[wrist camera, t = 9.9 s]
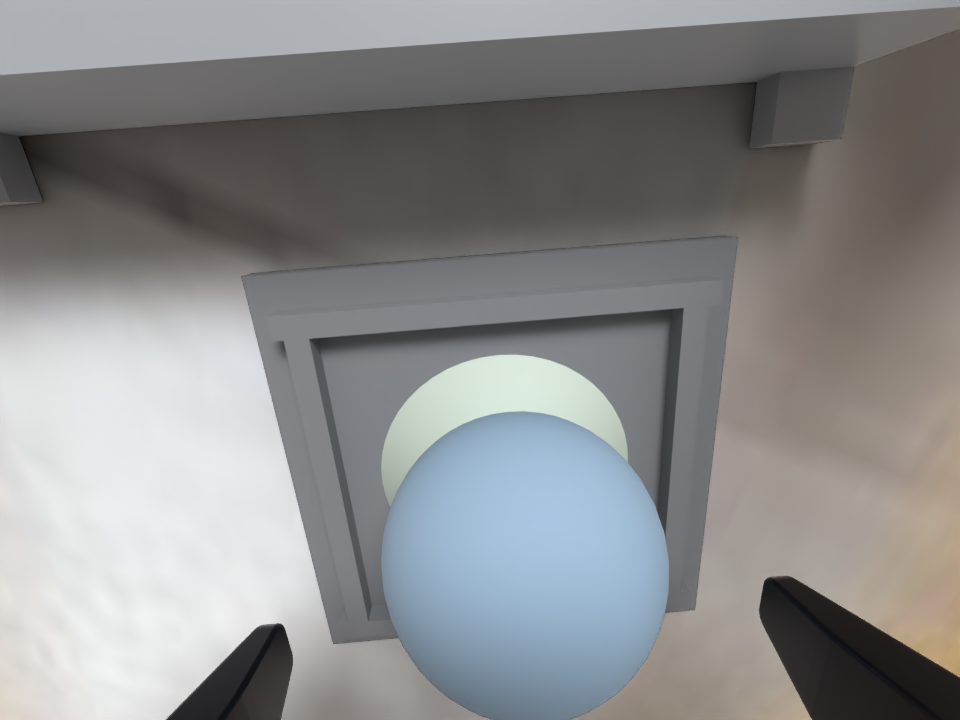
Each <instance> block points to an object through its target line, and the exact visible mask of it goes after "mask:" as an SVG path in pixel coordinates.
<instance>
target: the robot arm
mask: <svg viewBox="0 0 960 720" xmlns="http://www.w3.org/2000/svg"><path fill="white" fill-rule="evenodd" d="M759 613H760V619H761V621H762V624H763V626H764V628H765V630H766V632H767V634H768V636H769V638H770V640H771V642H772V644H773V646H774V648H775V649H776V651H777V653H778V655H779V657H780V659H781V661H782V663H783V665H784V667H785V669H786V671H787V673H788V675H789V677H790V679H791V681H792V682H793V684H794V686H795V688H796V690H797V692H798V694H799V696H800V698H801V700H802V702H803V704H804V705H805V707H806V709H807V711H808V713H809V715H810V717H811V718H812V720H960V677H958V676H956V675H955V674H953V673H951V672H950V671H948V670H946V669H945V668H943V667H941V666H940V665H938V664H936V663H935V662H933V661H931V660H930V659H928V658H926V657H925V656H923V655H921V654H920V653H918V652H916V651H915V650H913V649H911V648H910V647H908V646H906V645H905V644H903V643H901V642H900V641H898V640H896V639H895V638H893V637H891V636H890V635H888V634H886V633H885V632H883V631H881V630H880V629H878V628H876V627H875V626H873V625H871V624H870V623H868V622H866V621H865V620H863V619H861V618H860V617H858V616H856V615H855V614H853V613H851V612H850V611H848V610H846V609H845V608H843V607H841V606H840V605H838V604H836V603H835V602H833V601H831V600H830V599H828V598H826V597H825V596H823V595H821V594H820V593H818V592H816V591H815V590H813V589H811V588H810V587H808V586H806V585H805V584H803V583H801V582H800V581H798V580H796V579H794V578H792V577H790V576H777V577H769V578H767V579H766V580H765V581H764V585H763V591H762V596H761V602H760V607H759ZM292 666H293V655H292V651H291V648H290V644H289V641H288V638H287V634H286V631H285V628H284V626H283V625H282V624H279V623H277V624H267V625H261V626H259V627H257V628H256V629H255V630H254V631H253V632H252V633H251V634H250V635H249V636H248V637H247V638H246V639H245V640H244V641H243V642H242V643H241V644H240V645H239V646H238V647H237V648H236V649H235V650H234V651H233V652H232V653H231V654H230V655H229V656H228V657H227V658H226V659H225V660H224V661H223V662H222V663H221V664H220V665H219V666H218V667H217V668H216V669H215V670H214V671H213V672H212V673H211V674H210V675H209V676H208V677H207V678H206V679H205V680H204V681H203V682H202V683H201V684H200V685H199V686H198V687H197V688H196V690H195V691H194V692H193V693H192V694H191V695H190V696H189V697H188V698H187V699H186V700H185V701H184V702H183V703H182V704H181V705H180V706H179V707H178V708H177V709H176V710H175V711H174V712H173V713H172V714H171V715H170V716H169V717H168V718H167V719H166V720H281V716H282V712H283V707H284V703H285V698H286V694H287V689H288V685H289V681H290V676H291V672H292Z"/></svg>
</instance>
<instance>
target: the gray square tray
mask: <svg viewBox="0 0 960 720" xmlns="http://www.w3.org/2000/svg"><path fill="white" fill-rule="evenodd" d="M737 241H738V237H732V236H713V237H700V238H688V239H675V240H663V241H650V242H637V243H625V244H612V245H600V246H587V247H575V248H562V249H550V250H537V251H524V252H512V253H499V254H487V255H474V256H462V257H449V258H437V259H424V260H411V261H399V262H386V263H374V264H361V265H349V266H336V267H323V268H311V269H298V270H286V271H273V272H261V273H251V274H248V275H245V276H242V281H243V285H244V289H245V293H246V297H247V301H248V305H249V309H250V313H251V317H252V321H253V325H254V329H255V333H256V337H257V341H258V345H259V349H260V353H261V357H262V361H263V365H264V369H265V373H266V377H267V381H268V385H269V389H270V393H271V397H272V401H273V405H274V409H275V413H276V417H277V421H278V425H279V429H280V433H281V437H282V441H283V445H284V449H285V453H286V457H287V461H288V465H289V469H290V473H291V477H292V481H293V485H294V489H295V493H296V497H297V501H298V505H299V509H300V513H301V517H302V521H303V525H304V529H305V533H306V537H307V541H308V545H309V549H310V553H311V557H312V561H313V565H314V569H315V573H316V577H317V581H318V585H319V589H320V593H321V597H322V601H323V605H324V609H325V613H326V617H327V621H328V625H329V629H330V633H331V637H332V641H333V644H339V643H350V642H360V641H371V640H382V639H392V638H399V637H398V634H397V632H396V630H395V628H394V625H393V623H392V621H391V618H390V614H389V611H388V607H387V603H386V599H385V595H384V591H383V581H382V568H381V555H382V543H383V534H384V529H385V525H386V521H387V517H388V513H389V510H390V507H391V504H392V502H393V499H394V497H395V495H396V492H397V490H398V488H399V487H400V485H401V483H402V481H403V480H404V478H405V476H406V475H407V473H408V471H409V470H410V468H411V467H412V466H413V465H414V463H415V462H416V461H417V460H418V458H419V457H420V456H421V455H422V454H423V453H424V452H425V451H426V450H427V449H428V448H429V447H430V446H431V445H432V444H433V443H434V442H435V441H437V440H438V439H440V438H441V437H442V436H444V435H445V434H446V433H448V432H449V431H451V430H453V429H455V428H457V427H458V426H460V425H462V424H464V423H467V422H469V421H472V420H474V419H477V418H480V417H484V416H487V415H491V414H496V413H503V412H517V411H527V412H538V413H544V414H549V415H553V416H557V417H560V418H563V419H566V420H568V421H571V422H573V423H576V424H578V425H580V426H582V427H584V428H586V429H588V430H590V431H591V432H593V433H594V434H596V435H597V436H598V437H600V438H601V439H603V440H604V441H605V442H607V443H608V444H609V445H611V446H612V447H613V448H614V449H615V450H616V451H617V452H618V453H619V454H620V455H621V456H622V457H623V458H624V459H625V460H626V461H627V462H628V464H629V465H630V466H631V467H632V469H633V470H634V471H635V472H636V474H637V475H638V476H639V478H640V479H641V481H642V482H643V484H644V486H645V488H646V490H647V491H648V493H649V495H650V497H651V499H652V501H653V502H654V504H655V507H656V510H657V513H658V516H659V519H660V522H661V525H662V527H663V530H664V534H665V540H666V546H667V553H668V559H669V591H668V598H667V604H666V609H665V613H669V612H679V611H690V610H695V606H696V597H697V588H698V580H699V571H700V562H701V553H702V545H703V536H704V527H705V519H706V510H707V501H708V493H709V484H710V475H711V467H712V458H713V449H714V440H715V432H716V423H717V414H718V406H719V397H720V388H721V380H722V371H723V362H724V354H725V345H726V336H727V327H728V319H729V310H730V301H731V293H732V284H733V275H734V267H735V258H736V249H737Z"/></svg>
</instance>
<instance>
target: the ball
mask: <svg viewBox="0 0 960 720" xmlns="http://www.w3.org/2000/svg"><path fill="white" fill-rule="evenodd" d="M381 568H382V581H383V591H384V595H385V599H386V603H387V607H388V611H389V614H390V618H391V621H392V623H393V625H394V628H395V630H396V632H397V634H398V637H399V639H400V641H401V643H402V645H403V647H404V649H405V650H406V652H407V653H408V654H409V656H410V657H411V659H412V660H413V662H414V663H415V665H416V666H417V667H418V669H419V670H420V672H421V673H422V674H423V675H424V676H425V677H426V678H427V679H428V680H429V681H430V682H431V683H432V684H433V685H434V686H435V687H436V688H437V689H438V690H439V691H441V692H442V693H443V694H444V695H446V696H447V697H448V698H449V699H451V700H453V701H454V702H456V703H458V704H459V705H461V706H463V707H464V708H466V709H468V710H470V711H472V712H474V713H476V714H478V715H480V716H483V717H486V718H489V719H492V720H570V719H573V718H575V717H578V716H581V715H583V714H585V713H587V712H589V711H591V710H593V709H594V708H596V707H598V706H600V705H601V704H603V703H604V702H606V701H607V700H609V699H610V698H611V697H613V696H614V695H615V694H617V693H618V692H619V691H620V690H621V689H622V688H623V687H624V686H625V685H626V684H627V683H628V682H629V681H630V680H631V679H632V677H633V676H634V675H635V673H636V672H637V671H638V670H639V668H640V667H641V666H642V664H643V663H644V661H645V660H646V658H647V657H648V655H649V653H650V651H651V649H652V647H653V644H654V642H655V640H656V638H657V636H658V634H659V631H660V628H661V625H662V622H663V618H664V613H665V609H666V604H667V598H668V591H669V559H668V553H667V546H666V540H665V534H664V530H663V527H662V525H661V522H660V519H659V516H658V513H657V510H656V507H655V504H654V502H653V501H652V499H651V497H650V495H649V493H648V491H647V490H646V488H645V486H644V484H643V482H642V481H641V479H640V478H639V476H638V475H637V474H636V472H635V471H634V470H633V469H632V467H631V466H630V465H629V464H628V462H627V461H626V460H625V459H624V458H623V457H622V456H621V455H620V454H619V453H618V452H617V451H616V450H615V449H614V448H613V447H612V446H611V445H609V444H608V443H607V442H605V441H604V440H603V439H601V438H600V437H598V436H597V435H596V434H594V433H593V432H591V431H590V430H588V429H586V428H584V427H582V426H580V425H578V424H576V423H573V422H571V421H568V420H566V419H563V418H560V417H557V416H553V415H549V414H544V413H538V412H527V411H517V412H503V413H496V414H491V415H487V416H484V417H480V418H477V419H474V420H472V421H469V422H467V423H464V424H462V425H460V426H458V427H457V428H455V429H453V430H451V431H449V432H448V433H446V434H445V435H444V436H442V437H441V438H440V439H438V440H437V441H435V442H434V443H433V444H432V445H431V446H430V447H429V448H428V449H427V450H426V451H425V452H424V453H423V454H422V455H421V456H420V457H419V458H418V460H417V461H416V462H415V463H414V465H413V466H412V467H411V468H410V470H409V471H408V473H407V475H406V476H405V478H404V480H403V481H402V483H401V485H400V487H399V488H398V490H397V492H396V495H395V497H394V499H393V502H392V504H391V507H390V510H389V513H388V517H387V521H386V525H385V529H384V534H383V543H382V555H381Z"/></svg>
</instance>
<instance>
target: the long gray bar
mask: <svg viewBox="0 0 960 720" xmlns="http://www.w3.org/2000/svg"><path fill="white" fill-rule="evenodd" d="M958 29H960V0H0V206H3V205H16V204H29V203H42V202H43V200H42V197H41V195H40V192H39V189H38V187H37V184H36V181H35V179H34V176H33V173H32V171H31V168H30V165H29V163H28V160H27V157H26V155H25V152H24V150H23V147H22V144H21V142H20V139H19V136H30V135H43V134H57V133H70V132H84V131H98V130H111V129H125V128H138V127H152V126H165V125H179V124H192V123H206V122H220V121H233V120H247V119H260V118H274V117H287V116H301V115H314V114H328V113H342V112H355V111H369V110H382V109H396V108H409V107H423V106H436V105H450V104H464V103H477V102H491V101H504V100H518V99H531V98H545V97H558V96H572V95H586V94H599V93H613V92H626V91H640V90H653V89H667V88H680V87H694V86H708V85H721V84H735V83H748V82H757V87H756V95H755V104H754V113H753V121H752V130H751V139H750V147H749V149H750V148H763V147H776V146H789V145H802V144H815V143H821V142H826V141H832V140H837V139H842V134H843V128H844V122H845V117H846V111H847V105H848V100H849V94H850V88H851V83H852V77H853V72H854V66H857V65H860V64H863V63H866V62H868V61H871V60H874V59H877V58H880V57H882V56H885V55H888V54H891V53H894V52H897V51H899V50H902V49H905V48H908V47H911V46H913V45H916V44H919V43H922V42H925V41H927V40H930V39H933V38H936V37H939V36H942V35H944V34H947V33H950V32H953V31H956V30H958Z"/></svg>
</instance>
